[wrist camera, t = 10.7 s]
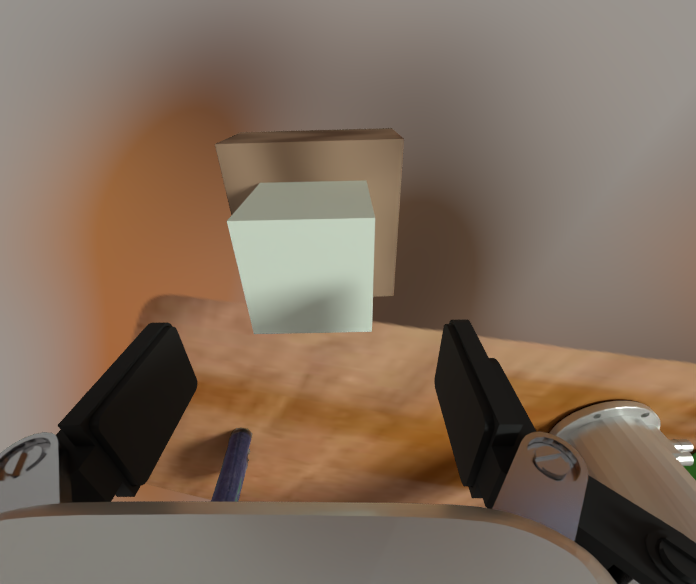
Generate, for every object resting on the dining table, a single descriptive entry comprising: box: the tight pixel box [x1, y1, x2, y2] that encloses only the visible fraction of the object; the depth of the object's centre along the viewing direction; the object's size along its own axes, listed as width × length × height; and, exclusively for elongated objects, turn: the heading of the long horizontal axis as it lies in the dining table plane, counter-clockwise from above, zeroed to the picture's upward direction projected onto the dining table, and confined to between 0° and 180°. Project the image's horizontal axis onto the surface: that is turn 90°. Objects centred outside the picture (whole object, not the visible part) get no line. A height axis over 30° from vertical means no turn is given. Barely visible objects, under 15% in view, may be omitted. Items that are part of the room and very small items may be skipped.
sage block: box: [227, 180, 375, 334], centre depth 17 cm, size 6×6×6 cm
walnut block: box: [215, 128, 404, 296], centre depth 21 cm, size 10×10×5 cm
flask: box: [211, 428, 252, 502], centre depth 37 cm, size 9×3×11 cm, turn 166°
